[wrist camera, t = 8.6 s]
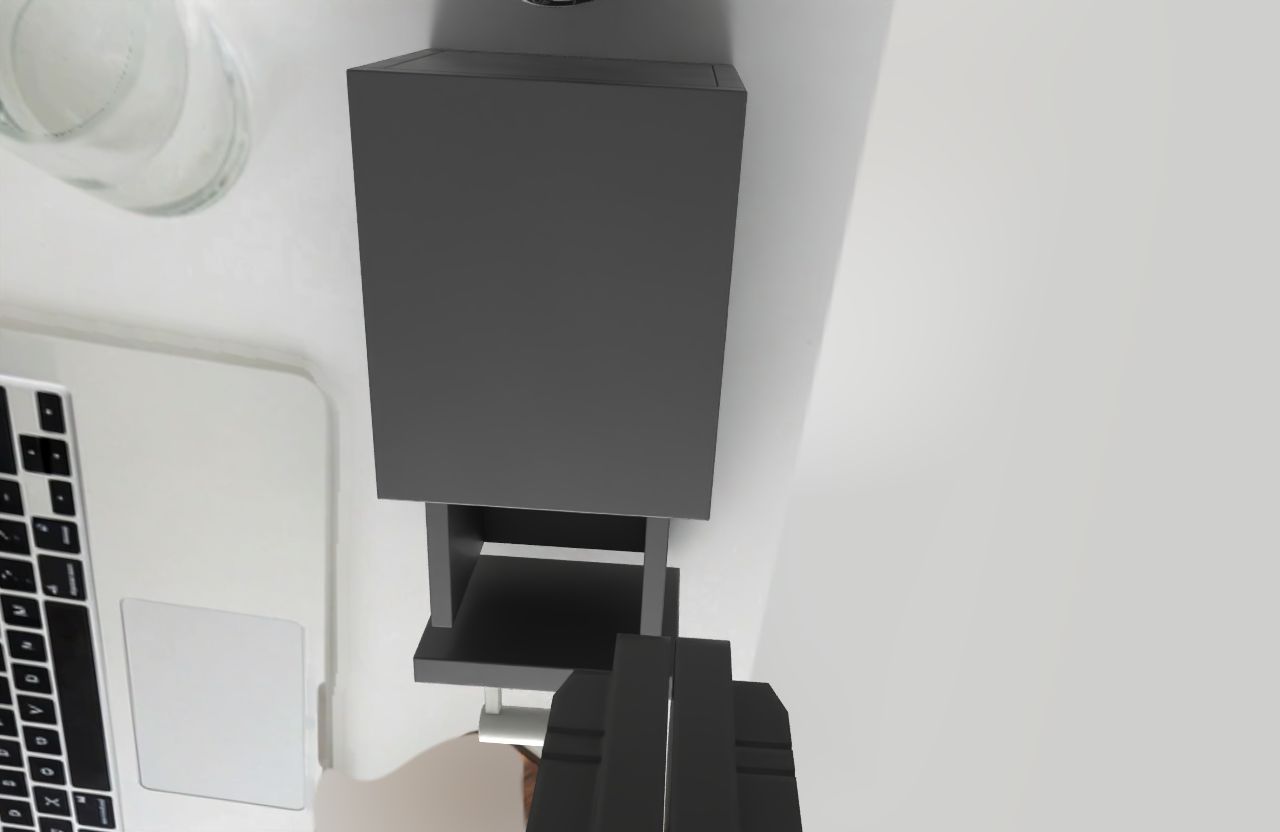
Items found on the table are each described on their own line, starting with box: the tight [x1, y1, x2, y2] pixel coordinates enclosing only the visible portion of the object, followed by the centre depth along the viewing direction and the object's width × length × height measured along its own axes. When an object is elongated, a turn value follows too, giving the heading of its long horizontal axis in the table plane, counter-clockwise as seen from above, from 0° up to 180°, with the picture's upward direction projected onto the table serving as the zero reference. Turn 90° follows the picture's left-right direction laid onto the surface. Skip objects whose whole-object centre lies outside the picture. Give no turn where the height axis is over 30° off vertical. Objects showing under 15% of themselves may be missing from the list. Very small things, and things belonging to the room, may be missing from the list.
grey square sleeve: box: [346, 49, 747, 521], centre depth 33 cm, size 14×11×9 cm
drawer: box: [413, 502, 680, 746], centre depth 38 cm, size 18×10×7 cm, turn 177°
